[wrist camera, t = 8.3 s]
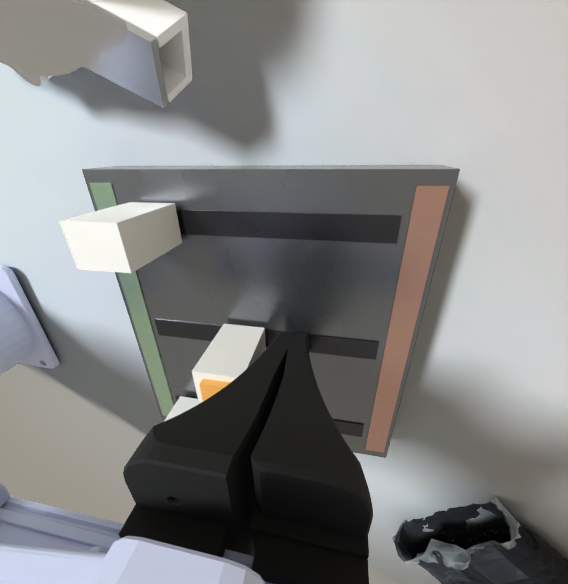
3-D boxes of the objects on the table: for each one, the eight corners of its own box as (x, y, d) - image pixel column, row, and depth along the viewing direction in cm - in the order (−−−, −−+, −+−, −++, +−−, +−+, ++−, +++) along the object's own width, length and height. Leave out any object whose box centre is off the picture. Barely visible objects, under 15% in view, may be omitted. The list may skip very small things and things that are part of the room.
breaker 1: (139, 240, 12) (77, 269, 9) (129, 202, 11) (58, 220, 8) (182, 242, 12) (131, 273, 9) (174, 203, 11) (116, 222, 8)
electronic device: (379, 500, 24) (488, 611, 25) (390, 580, 19) (526, 716, 20) (480, 453, 21) (599, 582, 22) (527, 533, 16) (679, 697, 17)
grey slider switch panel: (178, 395, 20) (161, 420, 18) (117, 166, 13) (80, 169, 11) (381, 426, 17) (386, 458, 16) (440, 164, 11) (460, 169, 9)
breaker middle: (227, 350, 14) (194, 407, 11) (223, 323, 13) (187, 376, 10) (266, 354, 14) (243, 415, 11) (264, 327, 13) (240, 384, 10)
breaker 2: (185, 414, 17) (154, 467, 14) (180, 396, 16) (146, 447, 14) (215, 419, 17) (190, 474, 14) (212, 401, 16) (184, 454, 13)
